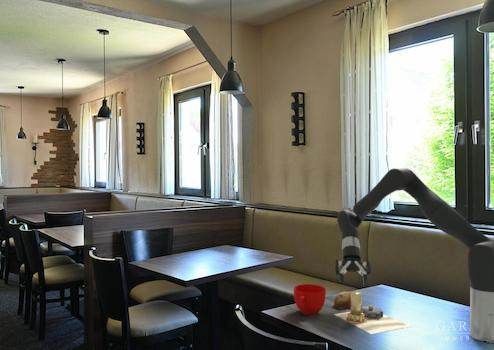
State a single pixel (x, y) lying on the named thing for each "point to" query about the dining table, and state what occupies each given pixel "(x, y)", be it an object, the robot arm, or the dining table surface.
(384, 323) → the gear board
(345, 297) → the bread roll
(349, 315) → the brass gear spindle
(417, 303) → the dining table surface
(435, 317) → the dining table surface
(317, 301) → the ceramic cup
